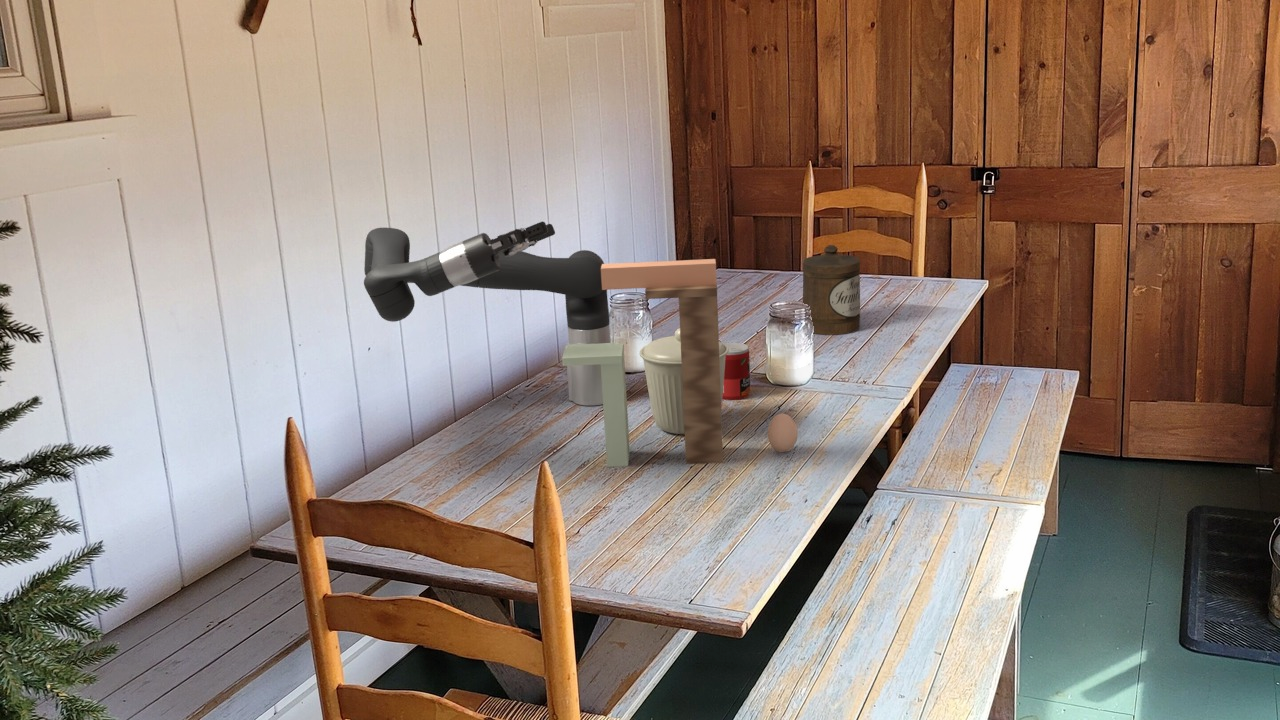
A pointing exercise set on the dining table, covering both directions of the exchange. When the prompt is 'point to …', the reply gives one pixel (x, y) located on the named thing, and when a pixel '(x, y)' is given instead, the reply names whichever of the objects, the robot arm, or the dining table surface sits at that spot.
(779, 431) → the egg
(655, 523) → the dining table surface
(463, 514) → the dining table surface
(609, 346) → the sage ledge
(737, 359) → the canned food
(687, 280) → the peach rectangular bar
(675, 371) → the canister
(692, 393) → the walnut stand
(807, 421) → the dining table surface
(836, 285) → the wooden container
